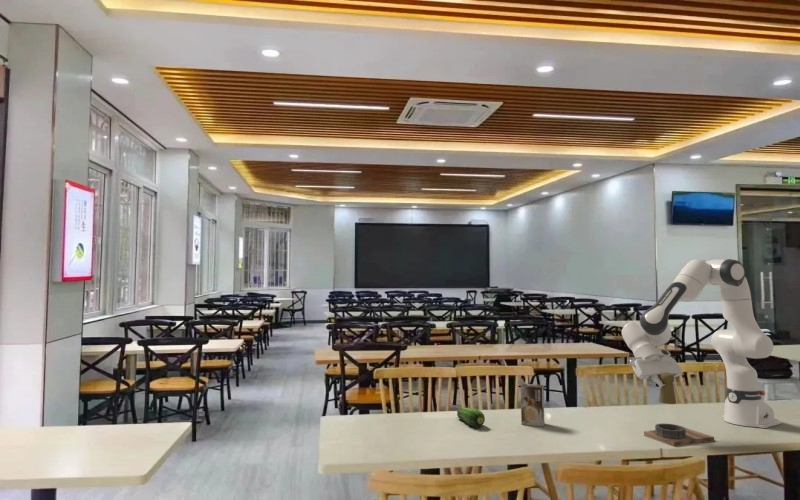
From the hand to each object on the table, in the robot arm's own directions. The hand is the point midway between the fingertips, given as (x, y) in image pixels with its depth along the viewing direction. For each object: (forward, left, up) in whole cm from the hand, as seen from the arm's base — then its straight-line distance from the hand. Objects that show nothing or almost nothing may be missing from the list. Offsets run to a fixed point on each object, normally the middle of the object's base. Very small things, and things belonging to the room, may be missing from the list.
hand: (668, 386), depth 201 cm
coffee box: (+39, -34, -20) cm, 55 cm away
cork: (0, -1, -6) cm, 6 cm away
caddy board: (-3, +1, -20) cm, 20 cm away
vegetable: (+64, -44, -20) cm, 80 cm away
